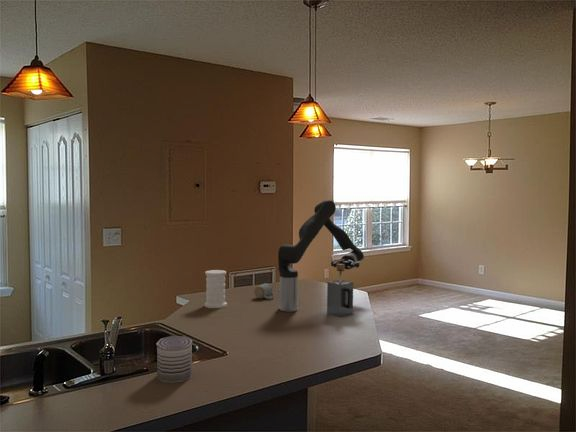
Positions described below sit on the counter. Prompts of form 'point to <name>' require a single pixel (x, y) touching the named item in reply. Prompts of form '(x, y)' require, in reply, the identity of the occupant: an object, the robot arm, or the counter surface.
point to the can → (174, 359)
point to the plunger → (340, 271)
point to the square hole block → (340, 298)
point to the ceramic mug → (264, 291)
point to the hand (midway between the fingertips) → (342, 265)
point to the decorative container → (215, 289)
